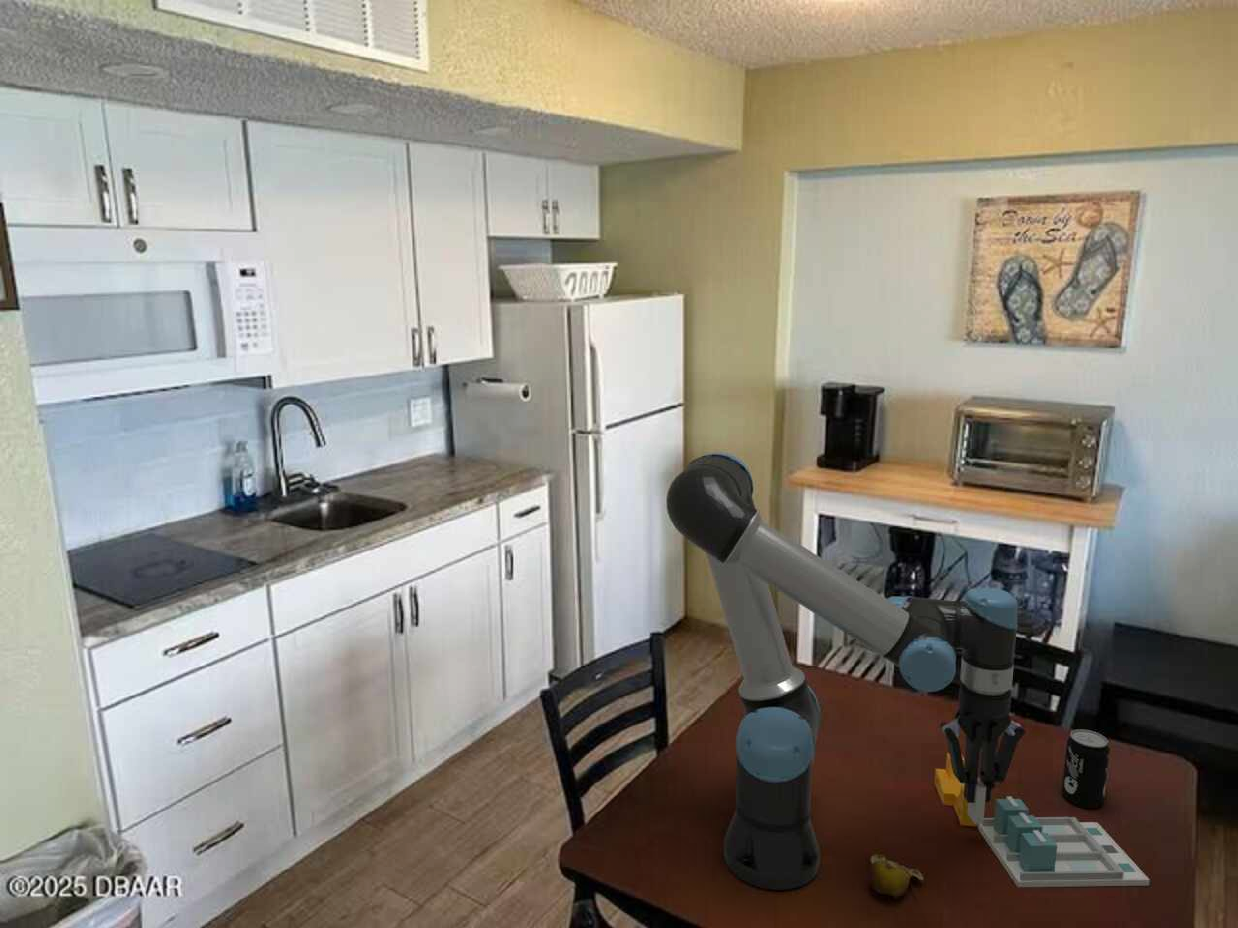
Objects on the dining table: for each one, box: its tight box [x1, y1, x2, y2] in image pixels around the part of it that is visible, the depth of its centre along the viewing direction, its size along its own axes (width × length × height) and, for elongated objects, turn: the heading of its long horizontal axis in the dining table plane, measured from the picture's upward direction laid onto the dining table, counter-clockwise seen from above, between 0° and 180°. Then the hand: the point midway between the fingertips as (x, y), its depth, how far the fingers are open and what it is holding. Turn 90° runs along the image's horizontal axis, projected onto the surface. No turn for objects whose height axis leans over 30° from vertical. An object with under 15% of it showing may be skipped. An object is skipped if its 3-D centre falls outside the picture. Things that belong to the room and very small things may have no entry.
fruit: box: [867, 853, 924, 898], centre depth 127 cm, size 8×8×4 cm
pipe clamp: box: [934, 752, 978, 827], centre depth 146 cm, size 12×4×6 cm, turn 172°
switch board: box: [977, 816, 1151, 888], centre depth 133 cm, size 20×14×2 cm
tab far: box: [993, 796, 1030, 835], centre depth 137 cm, size 4×3×6 cm
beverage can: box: [1061, 728, 1111, 809], centre depth 147 cm, size 7×7×12 cm
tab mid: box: [1006, 813, 1043, 853], centre depth 132 cm, size 4×3×6 cm
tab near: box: [1019, 830, 1057, 872], centre depth 128 cm, size 4×3×6 cm
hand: (975, 818), depth 136 cm, fingers closed
